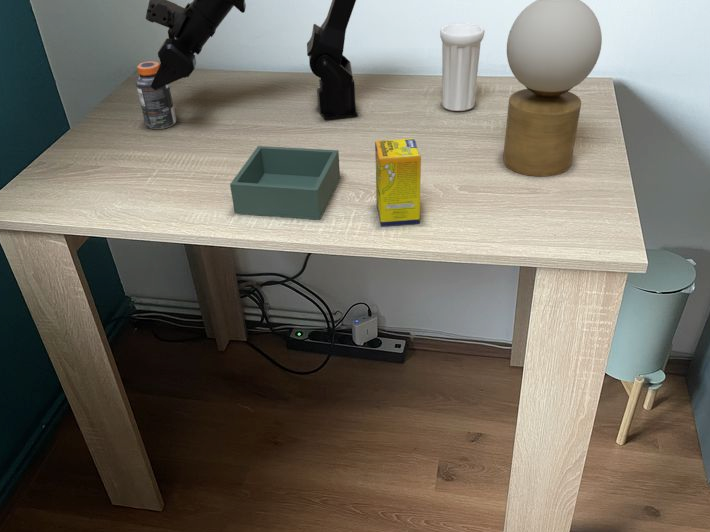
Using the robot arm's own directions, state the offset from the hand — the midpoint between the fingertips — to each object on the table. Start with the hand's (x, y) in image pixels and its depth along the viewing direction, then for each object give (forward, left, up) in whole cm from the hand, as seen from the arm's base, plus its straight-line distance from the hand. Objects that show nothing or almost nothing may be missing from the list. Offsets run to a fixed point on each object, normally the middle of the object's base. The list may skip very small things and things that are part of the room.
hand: (156, 79), depth 135 cm
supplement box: (-34, +47, -9) cm, 59 cm away
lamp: (-62, +34, -9) cm, 71 cm away
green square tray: (-19, +36, -8) cm, 42 cm away
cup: (-56, +9, -9) cm, 57 cm away
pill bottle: (+1, 0, -9) cm, 9 cm away
